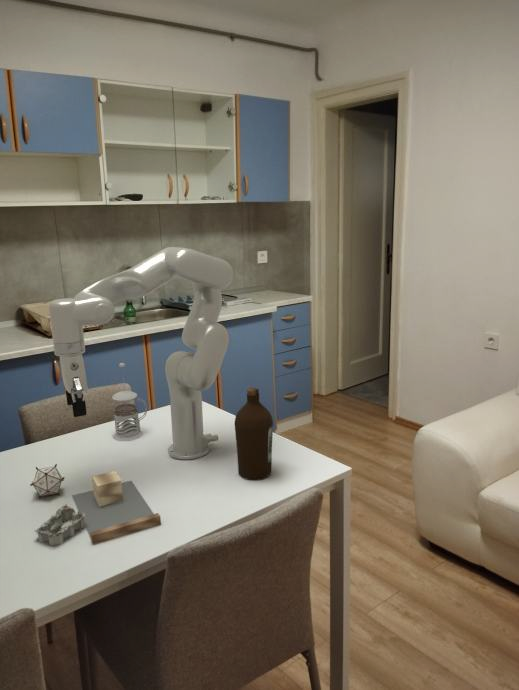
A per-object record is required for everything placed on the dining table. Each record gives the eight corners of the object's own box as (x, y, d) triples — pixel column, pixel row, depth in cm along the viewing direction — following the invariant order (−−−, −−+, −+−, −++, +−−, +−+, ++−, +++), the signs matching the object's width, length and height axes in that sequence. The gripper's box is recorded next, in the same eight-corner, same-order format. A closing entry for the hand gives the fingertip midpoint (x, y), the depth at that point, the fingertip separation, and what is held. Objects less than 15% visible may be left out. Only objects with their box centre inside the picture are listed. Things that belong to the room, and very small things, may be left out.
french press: (112, 431, 190) (105, 360, 183) (146, 426, 193) (141, 357, 187) (113, 443, 180) (106, 368, 174) (150, 437, 184) (144, 364, 178)
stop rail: (158, 522, 135) (158, 512, 135) (161, 525, 134) (160, 516, 133) (91, 541, 128) (90, 532, 127) (93, 545, 127) (92, 535, 126)
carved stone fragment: (69, 517, 138) (67, 502, 137) (91, 524, 134) (89, 509, 133) (33, 540, 129) (30, 524, 128) (55, 549, 125) (52, 533, 124)
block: (117, 491, 149) (115, 470, 148) (123, 501, 144) (121, 480, 143) (94, 497, 147) (92, 476, 145) (99, 507, 142) (97, 486, 140)
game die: (54, 510, 149) (50, 494, 141) (25, 497, 149) (20, 480, 142) (73, 481, 154) (70, 464, 147) (45, 469, 155) (41, 452, 148)
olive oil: (236, 482, 154) (233, 396, 147) (236, 464, 164) (233, 383, 158) (274, 480, 154) (273, 394, 148) (272, 463, 164) (271, 382, 158)
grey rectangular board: (131, 481, 155) (131, 480, 155) (158, 522, 135) (158, 521, 135) (71, 496, 148) (71, 495, 148) (91, 541, 128) (91, 540, 128)
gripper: (91, 352, 137) (98, 417, 142) (78, 338, 152) (85, 397, 157) (59, 357, 134) (67, 423, 138) (49, 342, 149) (57, 402, 153)
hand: (76, 409), depth 148 cm, fingers open, 9 cm apart
